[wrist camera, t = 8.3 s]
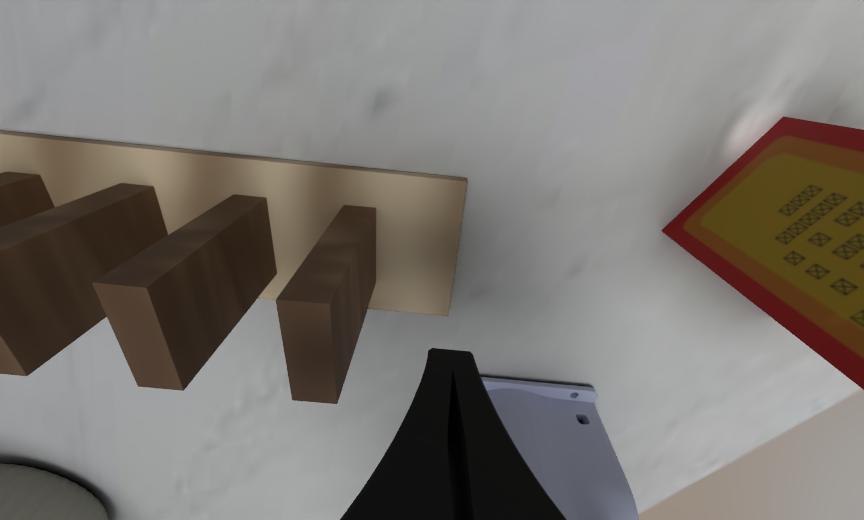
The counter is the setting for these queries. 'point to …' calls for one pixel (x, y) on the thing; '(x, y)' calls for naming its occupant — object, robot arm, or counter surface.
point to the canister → (44, 496)
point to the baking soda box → (791, 234)
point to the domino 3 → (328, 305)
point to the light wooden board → (274, 204)
